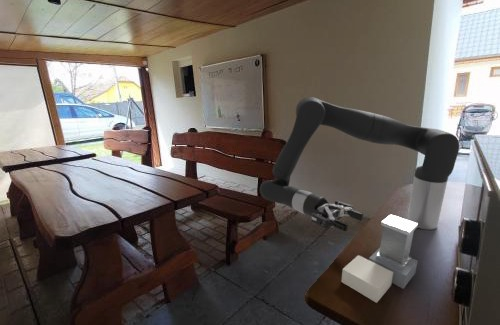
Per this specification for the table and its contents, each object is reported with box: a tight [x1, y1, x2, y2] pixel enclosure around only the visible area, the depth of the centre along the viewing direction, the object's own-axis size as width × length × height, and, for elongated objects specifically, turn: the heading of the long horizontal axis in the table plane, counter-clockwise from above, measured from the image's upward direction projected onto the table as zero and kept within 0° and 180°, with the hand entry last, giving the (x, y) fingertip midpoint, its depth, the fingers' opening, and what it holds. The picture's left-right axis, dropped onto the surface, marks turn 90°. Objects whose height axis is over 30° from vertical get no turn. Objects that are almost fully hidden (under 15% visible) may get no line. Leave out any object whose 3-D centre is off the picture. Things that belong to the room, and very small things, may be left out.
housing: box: [376, 213, 418, 270], centre depth 67 cm, size 6×6×11 cm
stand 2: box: [368, 247, 419, 290], centre depth 69 cm, size 8×9×4 cm
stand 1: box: [341, 254, 393, 304], centre depth 66 cm, size 8×9×4 cm
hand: (355, 222), depth 75 cm, fingers open, 8 cm apart
